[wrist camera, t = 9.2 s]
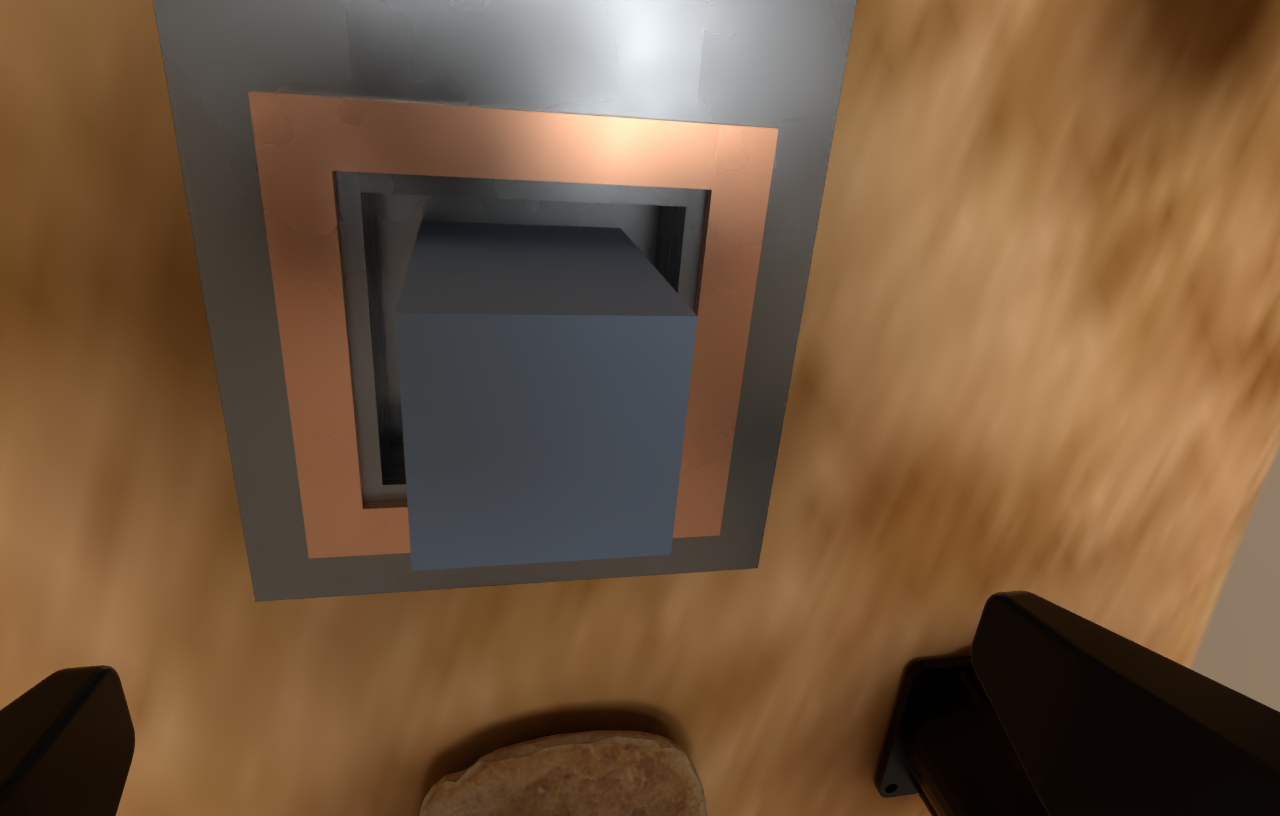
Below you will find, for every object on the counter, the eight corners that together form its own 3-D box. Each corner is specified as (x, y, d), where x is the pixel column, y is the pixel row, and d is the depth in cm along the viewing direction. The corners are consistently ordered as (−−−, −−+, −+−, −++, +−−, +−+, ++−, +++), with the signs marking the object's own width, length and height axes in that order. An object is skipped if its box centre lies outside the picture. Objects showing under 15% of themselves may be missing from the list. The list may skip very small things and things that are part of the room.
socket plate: (722, 506, 22) (761, 575, 19) (284, 526, 19) (251, 610, 17) (905, -756, 12) (1043, -1013, 9) (57, -1060, 9) (-126, -1554, 7)
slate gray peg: (609, 402, 19) (671, 554, 13) (429, 405, 18) (412, 570, 12) (620, 228, 17) (697, 316, 11) (421, 220, 16) (395, 313, 10)
